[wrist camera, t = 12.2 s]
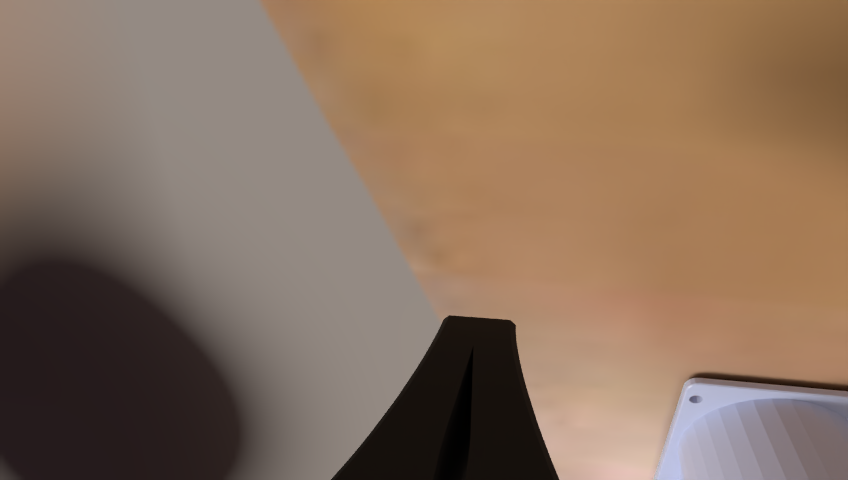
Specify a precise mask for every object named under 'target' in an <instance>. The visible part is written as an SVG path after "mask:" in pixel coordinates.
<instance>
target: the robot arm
mask: <svg viewBox="0 0 848 480" xmlns="http://www.w3.org/2000/svg"><path fill="white" fill-rule="evenodd" d="M696 395H697V396H696ZM331 480H559V478H558V475H557V473H556V471H555V468H554V466H553V463H552V461H551V458H550V455H549V453H548V450H547V448H546V445H545V442H544V440H543V437H542V434H541V432H540V429H539V426H538V423H537V420H536V417H535V414H534V411H533V408H532V404H531V401H530V398H529V395H528V392H527V388H526V385H525V381H524V377H523V373H522V369H521V364H520V360H519V355H518V349H517V343H516V325H515V324H514V323H513V322H512V321H511V320H502V319H489V318H476V317H463V316H450V315H449V316H448V317H446V318H445V319H444V320H443V322H442V325H441V327H440V329H439V331H438V333H437V335H436V336H435V338H434V340H433V342H432V344H431V346H430V347H429V349H428V351H427V352H426V354H425V356H424V358H423V359H422V361H421V362H420V364H419V366H418V367H417V369H416V370H415V372H414V373H413V375H412V376H411V378H410V379H409V381H408V382H407V384H406V385H405V387H404V388H403V390H402V391H401V393H400V394H399V396H398V397H397V398H396V400H395V401H394V403H393V404H392V405H391V407H390V408H389V409H388V411H387V412H386V413H385V415H384V416H383V417H382V419H381V420H380V421H379V423H378V424H377V425H376V427H375V428H374V429H373V431H372V432H371V433H370V434H369V436H368V437H367V438H366V439H365V441H364V442H363V443H362V444H361V446H360V447H359V448H358V449H357V451H356V452H355V453H354V454H353V455H352V456H351V458H350V459H349V460H348V461H347V462H346V463H345V464H344V466H343V467H342V468H341V469H340V470H339V471H338V472H337V474H336V475H335V476H334V477H333V478H332V479H331ZM653 480H848V391H838V390H827V389H816V388H806V387H795V386H784V385H773V384H762V383H751V382H740V381H729V380H718V379H707V378H692V379H689V380H688V381H686V382H685V384H684V386H683V389H682V392H681V395H680V399H679V402H678V405H677V408H676V411H675V414H674V417H673V420H672V423H671V426H670V429H669V433H668V436H667V439H666V442H665V445H664V448H663V451H662V454H661V457H660V460H659V463H658V467H657V470H656V473H655V476H654V479H653Z"/></svg>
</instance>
